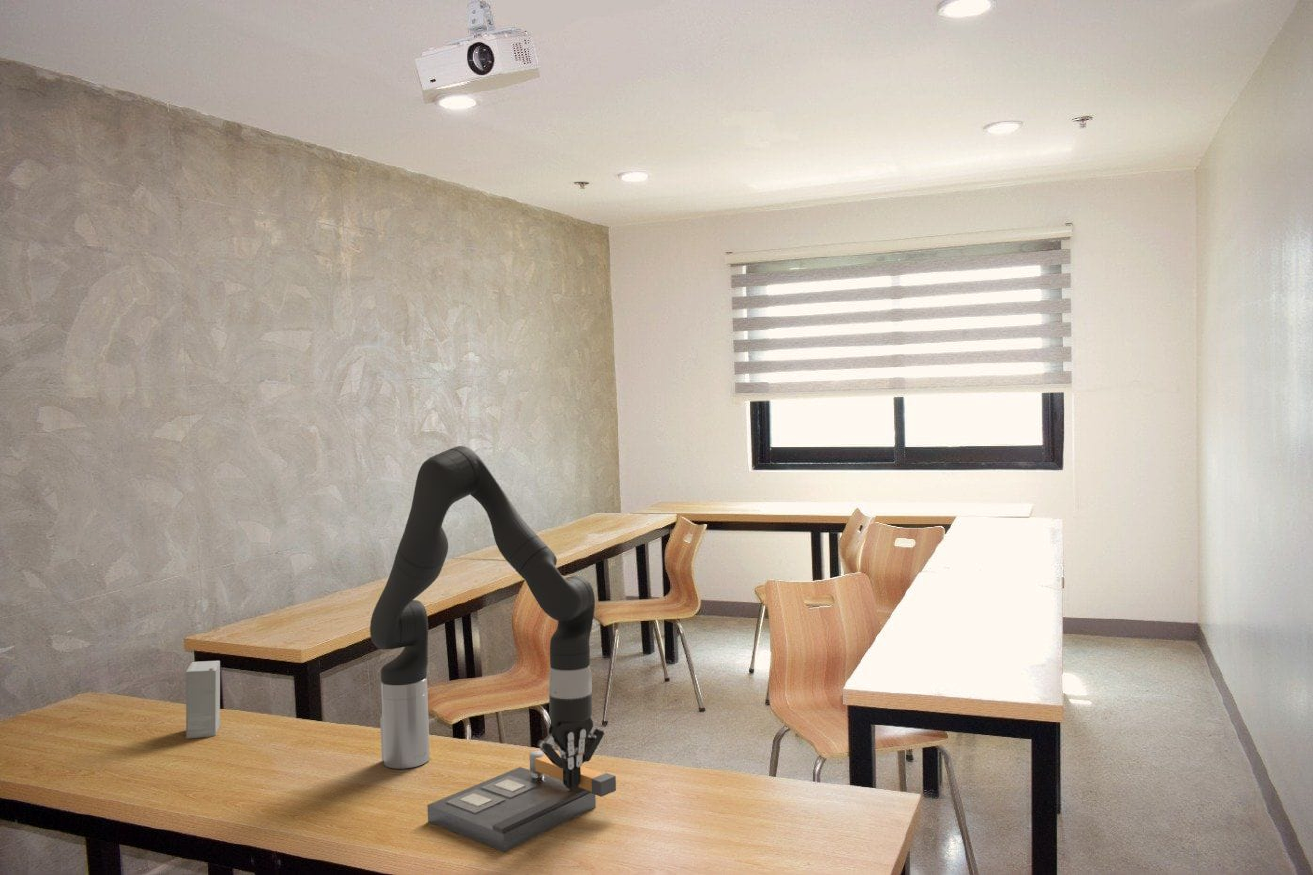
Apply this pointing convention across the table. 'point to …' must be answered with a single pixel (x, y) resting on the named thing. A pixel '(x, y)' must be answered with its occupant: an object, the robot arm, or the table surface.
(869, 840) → the table surface
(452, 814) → the plate
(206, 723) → the skincare box
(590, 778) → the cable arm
